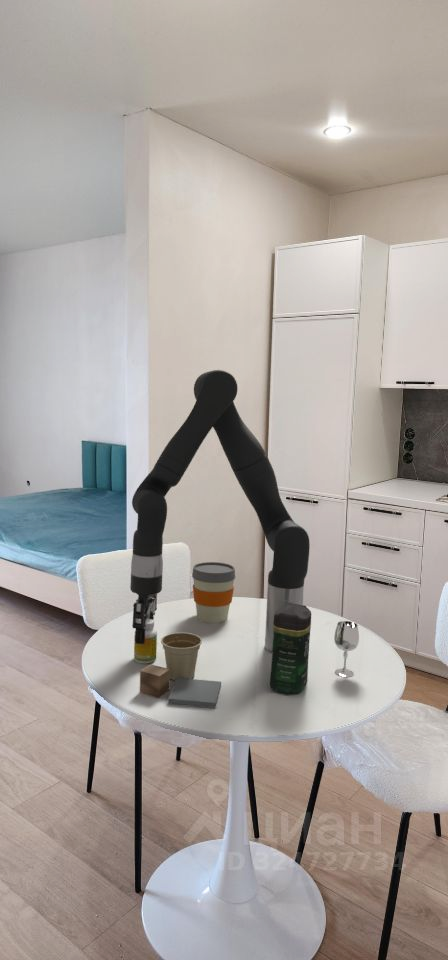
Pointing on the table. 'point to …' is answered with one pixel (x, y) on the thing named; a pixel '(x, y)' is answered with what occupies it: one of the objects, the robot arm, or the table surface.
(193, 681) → the coaster
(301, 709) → the table surface
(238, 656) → the table surface
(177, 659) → the flower pot
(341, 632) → the wineglass
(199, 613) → the reusable coffee cup
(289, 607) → the coffee jar
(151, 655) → the supplement bottle
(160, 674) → the walnut block
